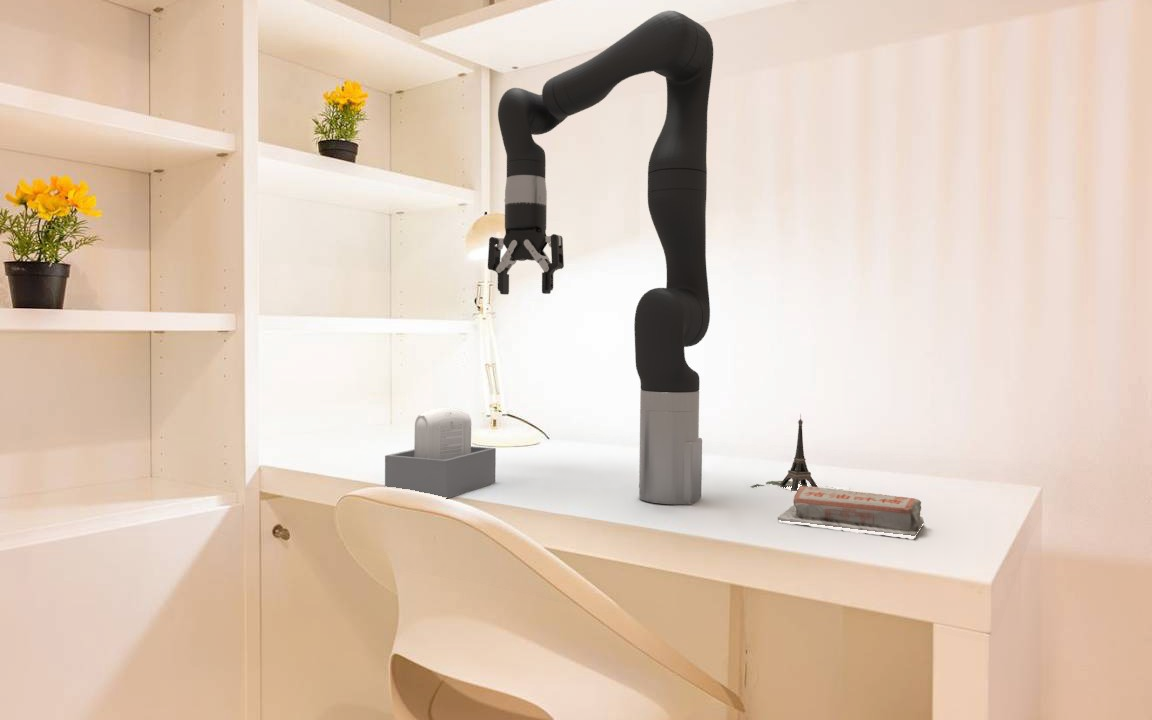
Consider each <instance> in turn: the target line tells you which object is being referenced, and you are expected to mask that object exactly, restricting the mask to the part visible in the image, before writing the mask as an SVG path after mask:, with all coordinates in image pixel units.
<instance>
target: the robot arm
mask: <svg viewBox="0 0 1152 720" xmlns="http://www.w3.org/2000/svg"><path fill="white" fill-rule="evenodd" d="M713 44H714V43H713V39H712V35H711V34H710V32H709V31H708V30H707V29H706V27H704V26H703V25H701V24H700V23H699V22H697V21H695V20H693V19H692V18H690V17H688V16H687V15H685V14H684V13H681V12H679V11H677V10H676V11H675V10H664V11H662V12H659V13H657V14H655V15H653V16H652V17H650V18H648V19H647V20H645V21H644V22H642V23H641V24H640V25H638V26H636V27H635V28H634V29H633V30H631V31H630V32H629V33H627V34H626V35H625V36H623V37H621V38H620V39H619V40H617V41H616V42H614V43H612V44H611V45H610V46H608V47H607V48H606V49H604V50H602V51H601V52H599V53H598V54H597V55H595V56H593V57H592V58H590V59H589V60H587V61H584V62H583V63H581V64H578V65H576V66H574V67H572V68H570V69H568V70H566V71H563V72H562V73H559V74H557V75H555V76H553V77H551V78H550V79H547V80H546V82H545V83H544V84H543V87H542V89H541V94H538V93H535V92H531V91H529V90H526V89H524V88H520V87H511V88H509V89H507V90H506V91H505V92H504V93H503V95H502V96H501V98H500V101H499V103H498V109H497V120H498V125H499V130H500V134H501V137H502V143H503V146H504V150H505V155H506V180H505V181H506V182H505V190H504V231H505V234H504V237H503V238H501V237H494V236H491V237H490V238H489V239H488V254H487V269H488V270H491V271H493V272H495V273H496V274H497V291H499V294H500V295H509V293H510V273H509V272H510V270H511V268H512V266H514V265H515V264H516V263H517V262H518V261H520V262H524V261H535V262H536V263H538V265H539V266H540V268H541V270H542V271H543V272H541V293H542V294H544V295H547V294H548V295H549V294H551V292H552V291H553V290H554V274H555V272H556V271H558V270H562V269H564V265H565V264H564V263H565V262H564V243H563V241H564V239H563V236H562V235H559V234H555V233H554V234H551V235H547V232H546V231H547V209H548V208H547V204H548V203H547V201H548V200H547V199H548V197H547V195H548V193H547V192H548V191H547V183H546V165H547V162H546V153H545V150H544V149H543V147H542V146H541V145H539V144H538V143H537V142H536V141H535V140H534V139H533V138H534V137H533V136H532V135H534V136H535V135H537V136H539V135H543V134H547V133H548V132H549V133H550V132H551V131H552V130H554V128H556V127H557V126H558V125H560V124H561V123H562V122H564V121H565V120H566V119H567V118H568V117H571V116H573V115H575V114H577V113H580V112H583V111H585V110H588V109H589V108H590V109H591V108H592V107H593V106H596V105H597V104H599V103H600V102H601V101H603V100H604V99H605V98H606V97H607V96H608V95H609V94H610V93H611V92H612V91H613V90H614V88H615V87H617V86H618V85H619V84H620V83H621V82H623V81H624V80H626V79H629V78H631V77H633V76H637V75H640V74H646V73H651V72H654V73H655V74H657V75H659V76H662V77H664V78H665V81H666V115H665V121H664V123H663V126H662V129H661V130H660V133H659V135H658V137H657V139H656V142H655V143H654V146H653V148H652V151H651V154H650V155H649V162H648V165H647V166H648V167H647V204H648V207H647V208H648V211H649V214H650V219H651V222H652V223H653V226H654V228H655V231H656V234H657V235H658V236H657V237H658V239H659V242H660V245H661V246H662V250H663V254H664V257H665V264H666V266H665V267H666V287H657V288H652V289H649V290H648V291H646V292H645V293H644V294H643V295H642V296H641V297H640V299H639V301H638V303H637V306H636V309H635V315H634V326H633V327H634V353H635V355H634V357H635V369H636V372H637V375H638V378H639V380H640V391H639V392H640V400H639V401H640V409H639V465H638V466H639V471H638V473H639V476H638V478H639V481H638V482H639V483H638V488H639V491H638V492H639V493H638V494H639V495H638V498H639V499H640V500H642V501H644V502H649V503H654V504H663V505H692V504H694V503H695V502H697V501H698V500H699V499H701V498H702V483H703V482H702V480H703V478H702V476H703V475H702V473H703V470H702V469H703V438H701V437H699V434H700V433H699V431H700V430H699V429H700V427H699V426H700V376H699V373H698V372H697V371H695V370H694V369H692V368H691V367H690V366H689V364H688V363H687V361H686V356H685V355H686V354H685V348H689V347H692V346H695V345H697V344H699V343H700V342H701V341H702V340H703V339H704V337H705V336H706V334H707V332H708V329H709V326H710V319H711V304H710V303H711V302H710V294H709V293H710V292H709V282H708V281H709V280H708V273H707V258H706V256H707V251H706V249H707V248H706V247H707V246H706V245H707V243H706V242H707V241H706V239H707V237H706V236H707V235H706V232H707V231H706V229H707V227H706V225H707V224H706V223H707V222H706V215H707V214H706V212H707V209H706V208H707V181H708V180H707V177H708V175H707V174H708V172H707V171H708V168H707V148H708V147H707V144H708V108H709V99H710V98H709V97H710V89H711V83H712V73H713V66H714V65H713V64H714V45H713ZM547 245H548V246H549V247H550V249H551V251H550V252H551V261H550V258H549V257H548V254H546V252H545V251H544V250H545V248H546V246H547ZM504 247H505V248H506V250H505V252H504V254H503V255H502V257H501V253H502V250H503V248H504Z"/></svg>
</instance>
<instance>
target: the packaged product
mask: <svg viewBox="0 0 1152 720" xmlns="http://www.w3.org/2000/svg"><path fill="white" fill-rule="evenodd" d="M792 502H793V504H792V505H791V506H790V507H789V508H788V509H787V510H785V511H784V512H782V513H781V514H780V515H779V516H777V521H778V520H781V521H790V522H801V523H810V524H817V525H825V526H833V527H842V528H850V529H858V530H867V531H875V532H884V533H893V534H903V535H911V536H915V535H916V534H917V532H918V531H919V529H920V528H921V526H922V524H923V523H924V524H925V521H924V517H923V516H921V510H922V505H921V504H922V501H921V500H920V499H918V498H915V497H905V496H897V495H889V494H888V495H887V494H881V493H874V492H872V493H871V492H861V491H852V490H843V489H836V488H828V487H820V486H819V487H812V486H810V487H808V486H800V487H799V489H798V491H797V492H795V494H794V497H793V501H792Z"/></svg>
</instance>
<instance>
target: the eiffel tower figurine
mask: <svg viewBox="0 0 1152 720" xmlns="http://www.w3.org/2000/svg"><path fill="white" fill-rule="evenodd" d="M799 416H800V419H799V420H797V421H798V422H797V424H798V429H797V430H798V431H797V441H796V450H795V456H794V457H793V459H794V460H793V461H792V465H791V467H790V469H789V470H788V471H787V475H786V476H785V477H784V479H783V480H771V481H770V480H769V481H767V482H765V484H758V483H756V484H754V485H753V484H752V485H751V486H750V488H752V489H755V488H754V487H756V488H759V487H765V485H770V484H772V485H773V486H777V487H779V486H780V488H782V487H783V488H782V489H784V487H785V488H786V487H787V486H788V487H789V486H790V487H791V486H792V488H791V491H790V492H792V491H798V490H797V488H798V484H800V483H801V484H800V485H802V486H807V483H810V484H811V486H810V487H818V486H817V485H816V484H817V483H816V482H815V480H814V479H813V477H812V473H811V472H810V471H809V469H808V466H807V463H806V458H805V454H804V452H805V451H804V441H803V438H804V437H803V423H804V422H803V421H804V420H803V419H802V414H801V413H800V415H799ZM772 485H771V486H772ZM757 486H758V487H757Z"/></svg>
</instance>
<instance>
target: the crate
mask: <svg viewBox="0 0 1152 720" xmlns="http://www.w3.org/2000/svg"><path fill="white" fill-rule="evenodd" d="M496 450H497V449H496V447H484V446H472V445H471V453H470V454H466V455H462V456H458V457H454V458H450V459H446V460H441V459H429V458H418V457H414V449H409V450H405V451H401V452H395V453H390V454H386V455H384V487H385V486H387V487H396V488H402V489H410V490H415V491H419V492H424V493H430V494H434V495H438V496H442V497H447V498H448V499H450V498H454V497H456V496H459V495H462V494H466V493H468V492H471V491H475V490H477V489H480V488H483V487H487V486H489V485H492V484H494V483H495V484H496V466H497V465H496V459H497V458H496V453H497V451H496Z"/></svg>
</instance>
